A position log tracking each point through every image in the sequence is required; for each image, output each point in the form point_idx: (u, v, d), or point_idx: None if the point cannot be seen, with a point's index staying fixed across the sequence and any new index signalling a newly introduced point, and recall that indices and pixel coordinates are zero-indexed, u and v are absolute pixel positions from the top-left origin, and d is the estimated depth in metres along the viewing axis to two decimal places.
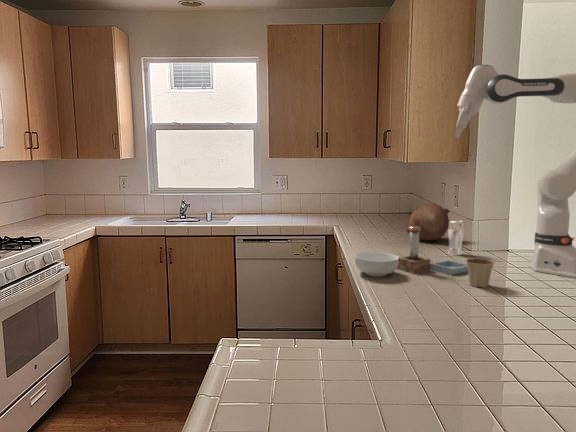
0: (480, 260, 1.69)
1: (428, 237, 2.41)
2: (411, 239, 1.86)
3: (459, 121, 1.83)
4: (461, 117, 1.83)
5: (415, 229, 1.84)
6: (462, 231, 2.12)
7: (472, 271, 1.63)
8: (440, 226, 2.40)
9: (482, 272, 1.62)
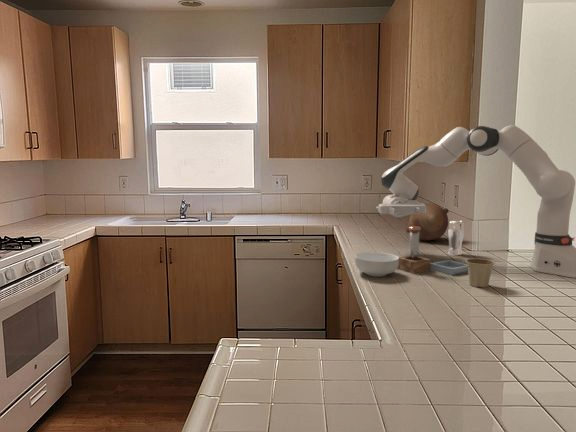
0: (480, 260, 1.69)
1: (427, 237, 2.42)
2: (411, 239, 1.86)
3: (379, 212, 2.03)
4: None
5: (415, 229, 1.84)
6: (462, 231, 2.12)
7: (472, 271, 1.63)
8: (440, 226, 2.41)
9: (482, 272, 1.62)
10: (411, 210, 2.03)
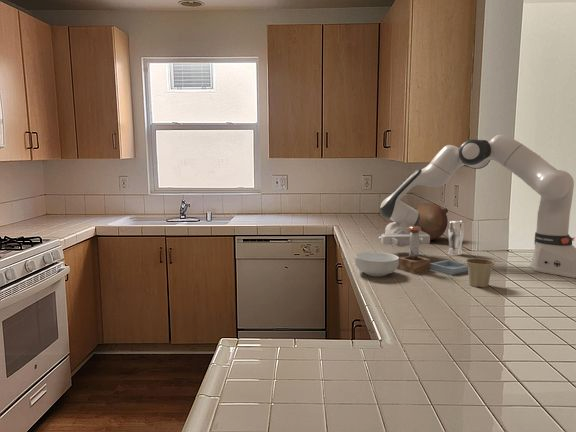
0: (480, 260, 1.69)
1: None
2: (411, 239, 1.86)
3: (382, 242, 1.99)
4: (381, 241, 2.01)
5: (415, 229, 1.84)
6: (462, 231, 2.12)
7: (472, 271, 1.63)
8: (439, 226, 2.41)
9: (482, 272, 1.62)
10: None
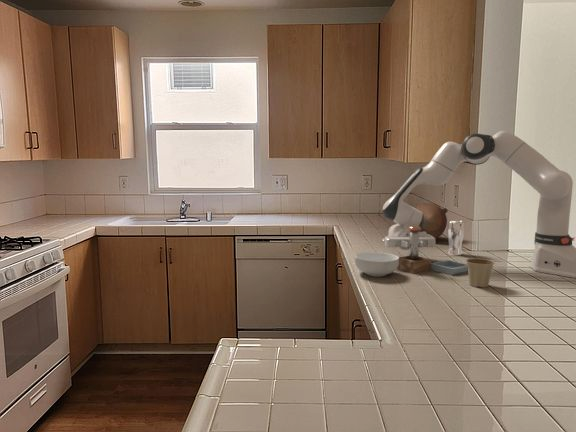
0: (480, 260, 1.69)
1: None
2: (411, 239, 1.86)
3: (386, 245, 1.92)
4: (385, 244, 1.94)
5: (415, 229, 1.84)
6: (462, 231, 2.12)
7: (472, 271, 1.63)
8: (438, 225, 2.42)
9: (482, 272, 1.62)
10: None
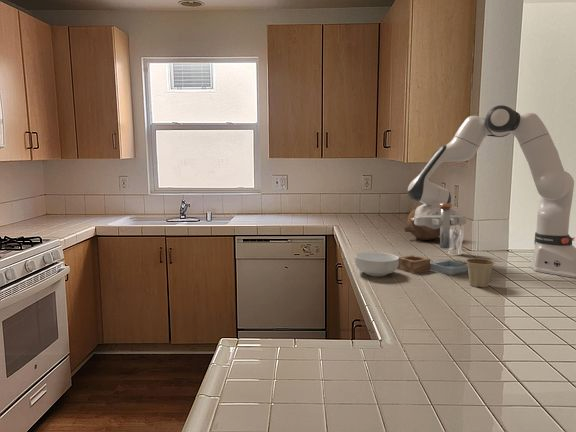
0: (480, 260, 1.69)
1: (425, 236, 2.44)
2: (442, 216, 1.82)
3: (415, 224, 1.89)
4: (414, 223, 1.90)
5: (446, 206, 1.81)
6: (462, 231, 2.12)
7: (472, 271, 1.63)
8: None
9: (482, 272, 1.62)
10: None
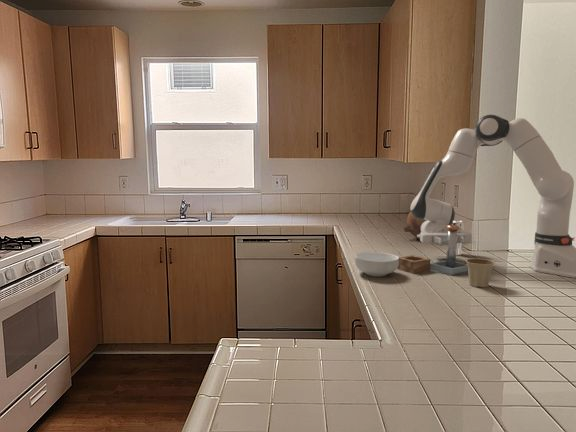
0: (480, 260, 1.69)
1: None
2: (449, 238, 1.83)
3: (422, 241, 1.90)
4: (420, 240, 1.91)
5: (454, 228, 1.82)
6: None
7: (472, 271, 1.63)
8: None
9: (482, 272, 1.62)
10: None
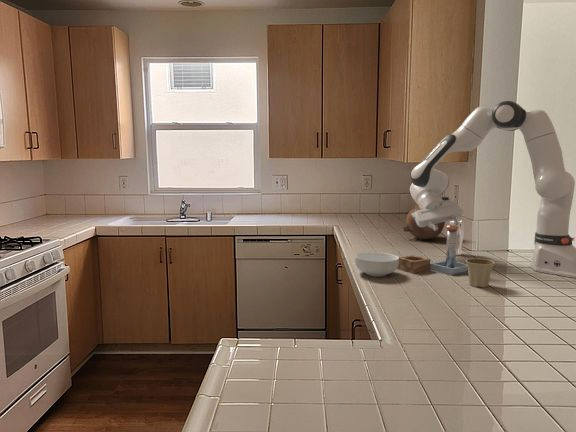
0: (480, 260, 1.69)
1: (424, 236, 2.45)
2: (449, 238, 1.84)
3: (418, 225, 2.02)
4: (416, 222, 2.03)
5: (453, 228, 1.82)
6: (462, 231, 2.12)
7: (472, 271, 1.63)
8: None
9: (482, 272, 1.62)
10: (448, 217, 2.03)
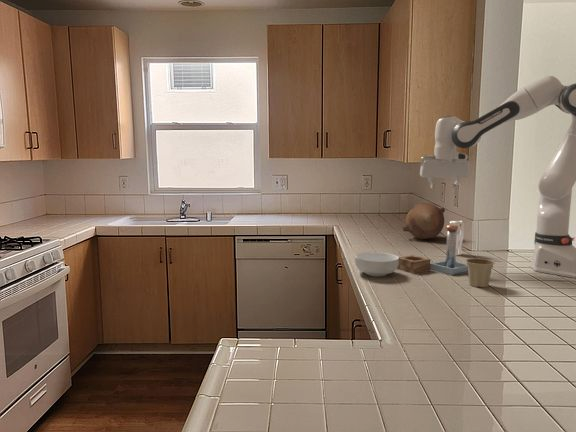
0: (480, 260, 1.69)
1: (423, 236, 2.45)
2: (448, 238, 1.84)
3: (420, 173, 2.01)
4: (420, 170, 2.01)
5: (453, 228, 1.82)
6: (462, 231, 2.12)
7: (472, 271, 1.64)
8: (435, 225, 2.44)
9: (482, 272, 1.62)
10: None
